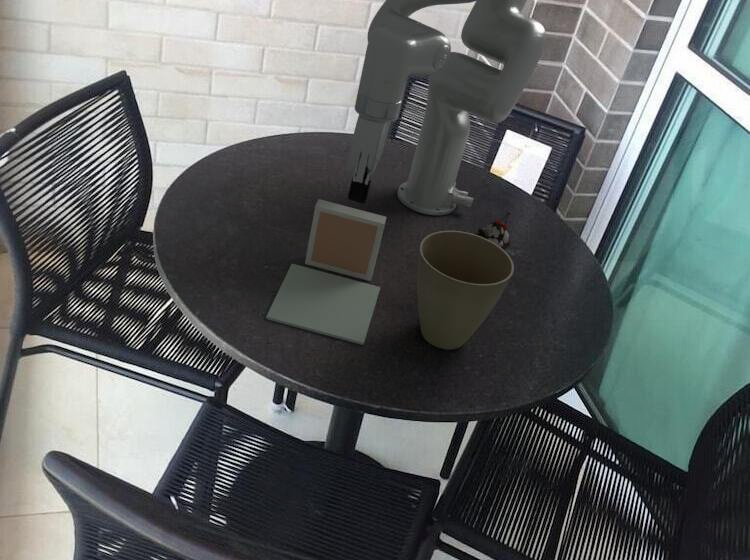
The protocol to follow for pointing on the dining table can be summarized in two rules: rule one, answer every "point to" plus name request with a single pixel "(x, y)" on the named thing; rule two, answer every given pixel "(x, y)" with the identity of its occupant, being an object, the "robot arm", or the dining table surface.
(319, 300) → the mat
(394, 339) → the dining table surface
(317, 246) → the tile
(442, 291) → the plant pot
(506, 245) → the sundae
